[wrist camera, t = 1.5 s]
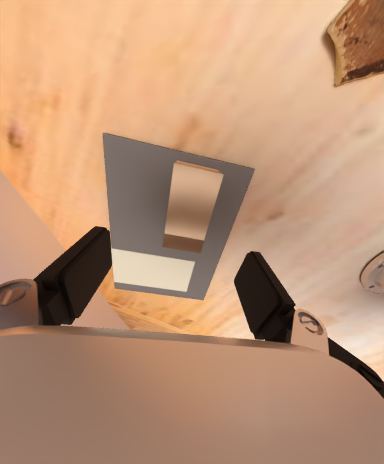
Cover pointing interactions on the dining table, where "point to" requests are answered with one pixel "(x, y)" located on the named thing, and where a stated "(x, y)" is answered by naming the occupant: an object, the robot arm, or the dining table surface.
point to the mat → (162, 218)
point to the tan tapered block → (190, 205)
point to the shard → (358, 40)
